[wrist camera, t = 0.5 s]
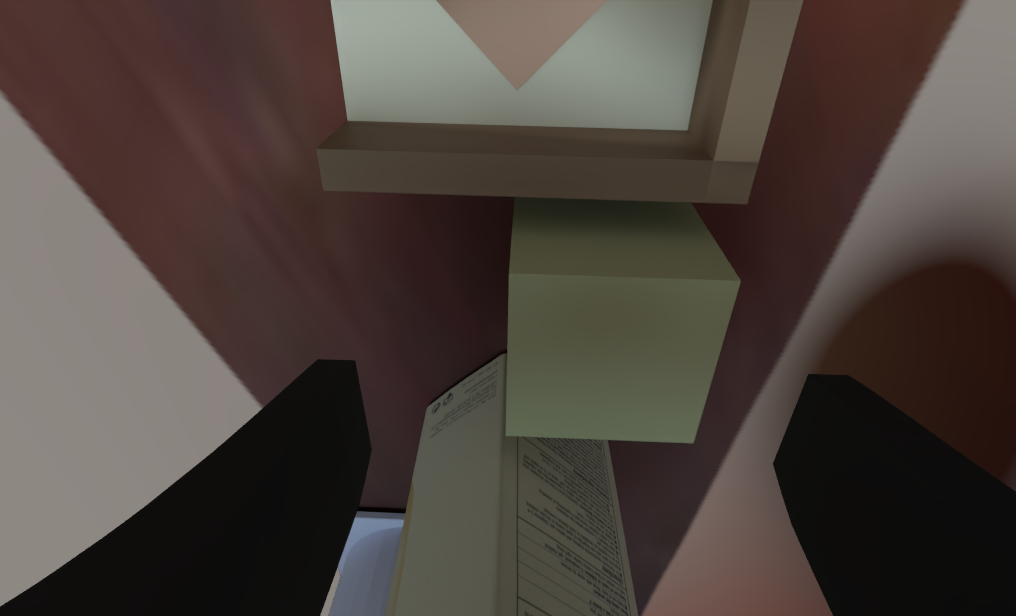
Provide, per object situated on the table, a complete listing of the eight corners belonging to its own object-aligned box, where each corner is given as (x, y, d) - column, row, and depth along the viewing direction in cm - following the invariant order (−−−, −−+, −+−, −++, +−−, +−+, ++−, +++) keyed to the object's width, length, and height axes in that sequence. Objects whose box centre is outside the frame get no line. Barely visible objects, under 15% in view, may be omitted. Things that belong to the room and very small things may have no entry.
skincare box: (423, 404, 21) (314, 843, 10) (506, 345, 19) (474, 801, 9) (533, 489, 23) (533, 913, 13) (616, 443, 21) (692, 891, 11)
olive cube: (657, 333, 19) (693, 443, 14) (511, 327, 19) (505, 435, 15) (685, 194, 16) (741, 281, 12) (515, 189, 16) (508, 273, 12)
